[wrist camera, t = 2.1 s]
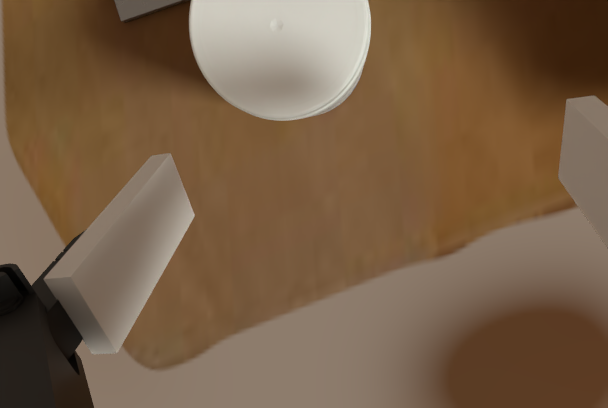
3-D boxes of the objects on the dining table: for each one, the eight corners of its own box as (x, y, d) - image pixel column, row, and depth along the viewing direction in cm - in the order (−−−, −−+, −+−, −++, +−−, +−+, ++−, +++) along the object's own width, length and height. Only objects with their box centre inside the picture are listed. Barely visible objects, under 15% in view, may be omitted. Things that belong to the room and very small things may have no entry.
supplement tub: (229, 80, 38) (150, 62, 24) (283, -29, 36) (232, -121, 22) (329, 138, 38) (310, 155, 24) (389, 32, 36) (409, -19, 22)
